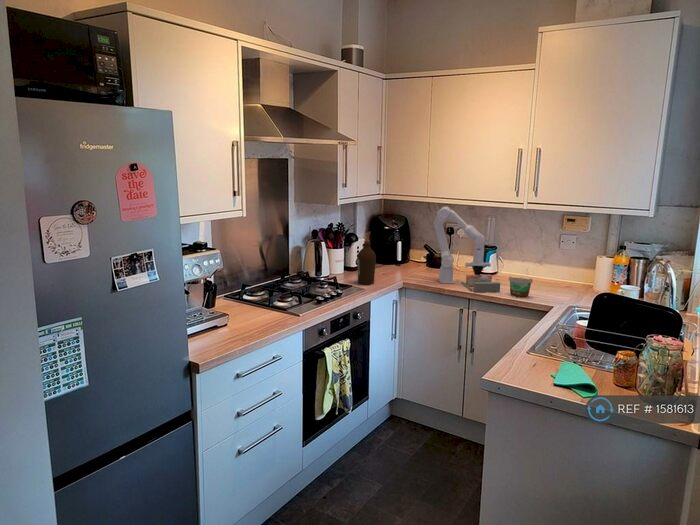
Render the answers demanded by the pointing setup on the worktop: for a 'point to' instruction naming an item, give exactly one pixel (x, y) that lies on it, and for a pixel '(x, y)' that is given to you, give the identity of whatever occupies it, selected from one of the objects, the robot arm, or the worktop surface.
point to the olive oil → (366, 264)
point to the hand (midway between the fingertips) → (476, 278)
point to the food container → (520, 286)
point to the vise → (484, 287)
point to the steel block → (482, 278)
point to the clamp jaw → (472, 278)
